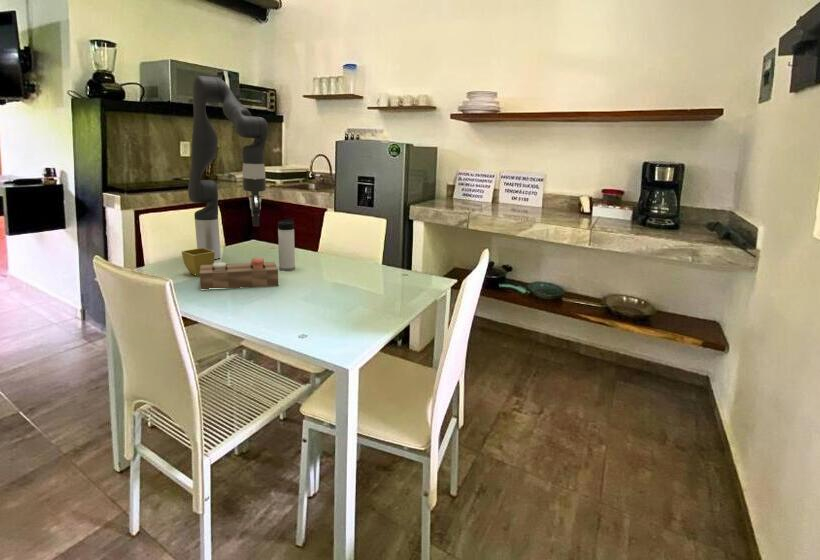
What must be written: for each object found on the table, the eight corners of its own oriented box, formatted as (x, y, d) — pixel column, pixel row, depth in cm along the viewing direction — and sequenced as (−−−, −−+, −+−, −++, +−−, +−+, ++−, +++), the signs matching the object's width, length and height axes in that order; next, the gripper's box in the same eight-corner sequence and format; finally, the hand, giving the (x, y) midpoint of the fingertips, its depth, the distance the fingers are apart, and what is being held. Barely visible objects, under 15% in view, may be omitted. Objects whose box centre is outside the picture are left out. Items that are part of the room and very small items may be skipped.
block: (201, 280, 177) (200, 265, 175) (275, 276, 186) (274, 261, 184) (200, 290, 166) (199, 273, 164) (278, 285, 175) (277, 269, 173)
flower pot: (195, 278, 179) (193, 254, 177) (182, 273, 184) (180, 250, 182) (216, 274, 186) (215, 251, 184) (204, 269, 191) (202, 247, 189)
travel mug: (297, 267, 201) (296, 219, 195) (291, 271, 194) (290, 222, 189) (282, 266, 201) (281, 218, 196) (276, 270, 195) (275, 221, 189)
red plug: (251, 276, 179) (250, 258, 177) (264, 276, 181) (263, 257, 179) (252, 280, 175) (251, 261, 173) (265, 279, 177) (264, 260, 175)
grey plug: (214, 281, 175) (212, 262, 173) (227, 280, 176) (226, 261, 174) (214, 285, 171) (212, 265, 169) (227, 284, 172) (226, 264, 170)
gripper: (241, 174, 172) (244, 223, 177) (243, 178, 160) (246, 229, 165) (263, 175, 175) (265, 222, 180) (267, 178, 163) (268, 229, 168)
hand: (256, 226), depth 172 cm, fingers closed
